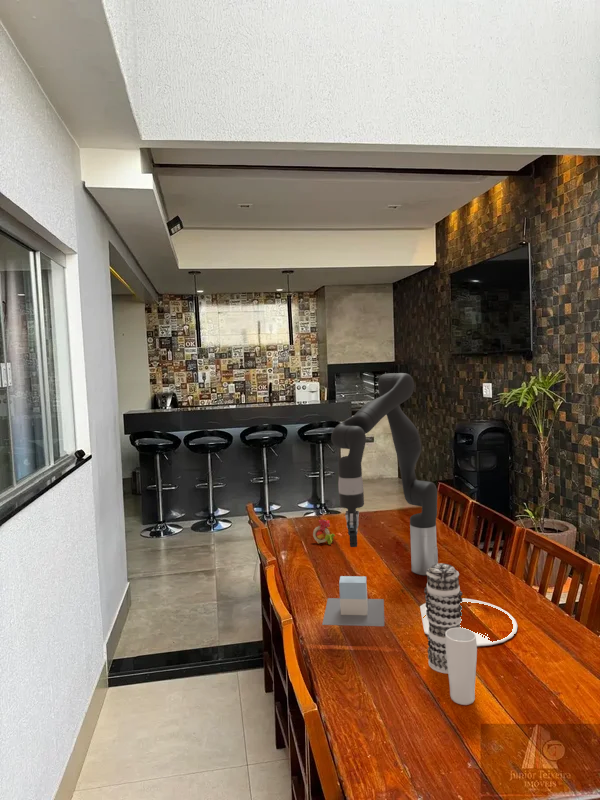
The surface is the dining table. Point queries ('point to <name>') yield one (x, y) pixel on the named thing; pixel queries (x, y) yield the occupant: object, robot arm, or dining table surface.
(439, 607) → the decorative candle
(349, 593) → the pale blue brick
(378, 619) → the charcoal baseplate
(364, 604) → the cream base brick
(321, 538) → the bird rattle
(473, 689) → the drinking glass
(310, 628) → the dining table surface
